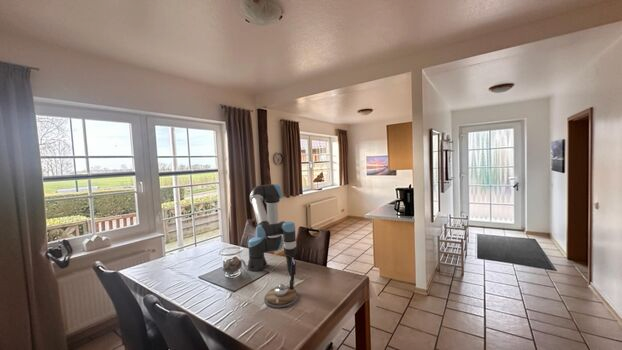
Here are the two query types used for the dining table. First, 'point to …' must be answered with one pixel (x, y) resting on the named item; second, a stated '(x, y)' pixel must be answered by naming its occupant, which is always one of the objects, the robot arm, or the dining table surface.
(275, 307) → the turntable base
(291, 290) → the platter
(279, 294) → the cover
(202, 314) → the dining table surface
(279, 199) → the robot arm
